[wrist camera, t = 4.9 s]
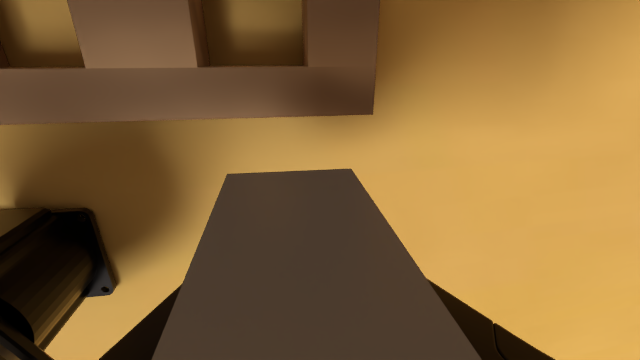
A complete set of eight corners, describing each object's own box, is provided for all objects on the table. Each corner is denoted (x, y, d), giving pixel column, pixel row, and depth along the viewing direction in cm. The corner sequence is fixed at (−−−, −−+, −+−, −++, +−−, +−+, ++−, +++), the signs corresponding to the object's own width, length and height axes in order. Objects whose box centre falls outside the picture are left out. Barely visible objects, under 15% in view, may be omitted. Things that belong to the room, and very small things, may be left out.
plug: (346, 267, 12) (484, 670, 4) (239, 276, 11) (160, 760, 3) (351, 168, 10) (585, 510, 2) (227, 173, 10) (42, 627, 2)
